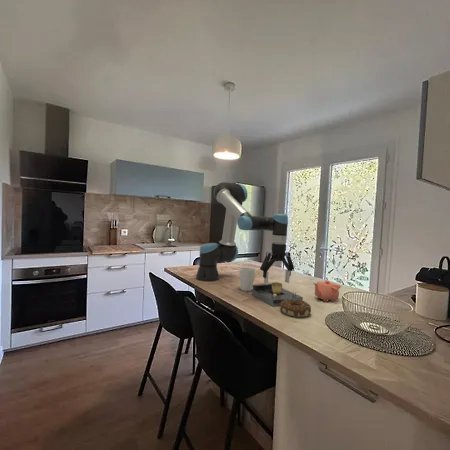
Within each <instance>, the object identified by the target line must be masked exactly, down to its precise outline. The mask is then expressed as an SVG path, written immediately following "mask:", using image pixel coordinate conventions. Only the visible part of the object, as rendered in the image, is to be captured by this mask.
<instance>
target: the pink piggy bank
mask: <svg viewBox="0 0 450 450" xmlns="http://www.w3.org/2000/svg"><path fill="white" fill-rule="evenodd" d="M312 284H314V287H315V288H314V295H315V297H317V299H318V300H323V302H324V303H328V302H329V300H331V301H332V302H336V300H338V299H339V297H340V292H339V290H340V289H341V285H340V284H336V283H333V282H331V281H330V280H325V281H317V283H316V282H313V283H312Z"/></svg>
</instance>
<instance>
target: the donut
mask: <svg viewBox="0 0 450 450" xmlns="http://www.w3.org/2000/svg"><path fill="white" fill-rule="evenodd" d="M311 307H312V306H311V304H310V303H308V302H307V301H305V300H294V299H288V300H284V301H282V302H281V304H280V306H279V309H280V311H281V312H282V313H283V314H285V315H287V316H289V317H294V318H305V317H307V316H309V315H310V314H311V311H312V309H311Z"/></svg>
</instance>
